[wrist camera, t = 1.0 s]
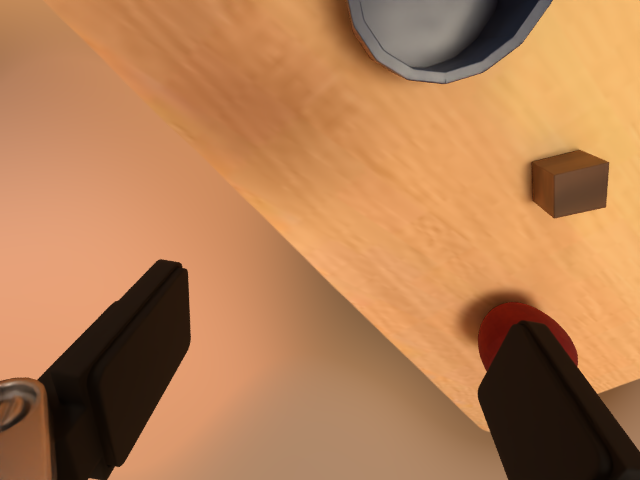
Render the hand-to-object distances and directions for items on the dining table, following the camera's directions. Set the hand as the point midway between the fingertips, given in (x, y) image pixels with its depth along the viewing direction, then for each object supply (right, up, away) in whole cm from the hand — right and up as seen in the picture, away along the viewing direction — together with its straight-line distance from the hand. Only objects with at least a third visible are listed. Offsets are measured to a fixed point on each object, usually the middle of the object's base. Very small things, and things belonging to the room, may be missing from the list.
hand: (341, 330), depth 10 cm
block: (+24, +9, +26) cm, 36 cm away
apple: (+23, -7, +35) cm, 43 cm away
